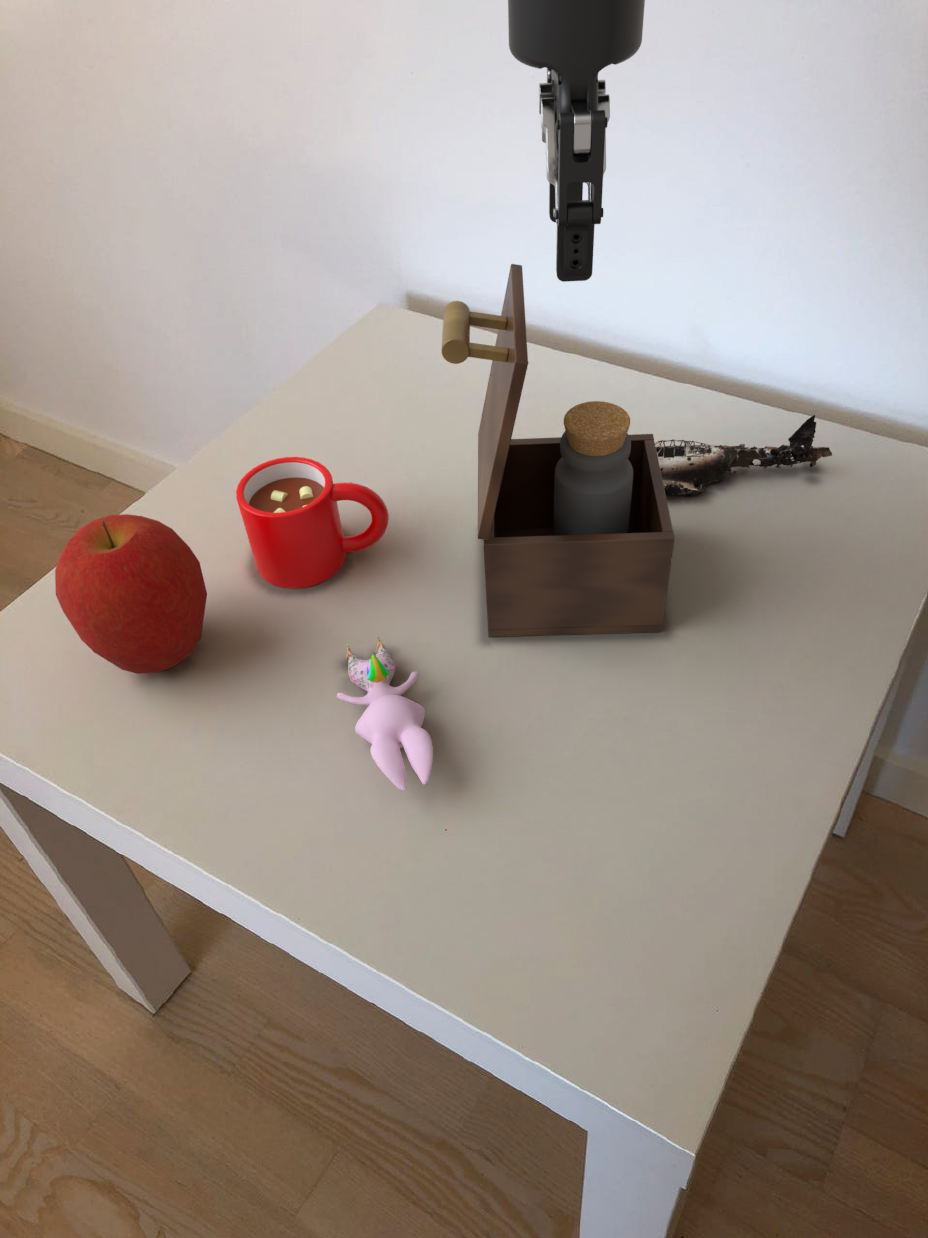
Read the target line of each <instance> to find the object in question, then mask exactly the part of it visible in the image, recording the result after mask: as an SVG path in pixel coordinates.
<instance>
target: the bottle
mask: <svg viewBox="0 0 928 1238" xmlns="http://www.w3.org/2000/svg"><path fill="white" fill-rule="evenodd" d="M563 425H564V431H563V433H562V435H561V436H560V437H561V441H560V452H561V455H562V458H561V459H560V460H559V461H558V463H557V465H556V468H555V485H554V536H558V535H589V534H620V533H628V529H629V519H630V508H631V496H632V485H633V468H632V465H631V463H630V461H629V460H628V457H629V455H630V450H631V439H630V437H629V435H630V434H629V429H630V427H631V417H630V415H629V413H628V412H627V411H626V410H625V409H624V408H622V407H621V406H620V405H618V404H614V403H612V402H608V401H601V400H599V401H598V400H594V401H593V400H592V401H585V402H581V403H579V404H576V405H574V406H573V407H570V408H569V409H568V411H566V413H565V414H564V416H563Z"/></svg>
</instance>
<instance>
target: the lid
mask: <svg viewBox="0 0 928 1238" xmlns="http://www.w3.org/2000/svg"><path fill="white" fill-rule="evenodd" d="M523 273H524V272H523V265H522V264H515V263H510V266H509V273H508V276H507V277H508V278H507V283H506V288H505V293H504V299H503V303H502V309H501V314H500V315H497V314H490V313H484V312H476V311H471V309H470V307H469V306H468V305H467V303H465V302H464V301H461V300H453V301H450V302H448V303H447V304H446V305H445V307H444V308H443V315H442V317H443V318H442V335H441V355H442V357H443V359H444V360H445V361H446V362H448V363H450V364H454V365H459V364H461V363H463V362H466V361H467V359H468V358H472V359H480V360H488V361H491V364H490V371H489V375H488V381H487V387H486V391H485V398H484V400H483V401H484V402H483V407H482V412H481V418H480V422H479V427H478V432H477V539H478V540H481V541H483V540H488V539H489V536H490V531H491V527H492V522H493V518H494V513H495V509H496V504H497V500H498V495H499V491H500V487H501V482H502V478H503V473H504V469H505V464H506V460H507V455H508V451H509V447H510V442H511V439H513V433H514V429H515V424H516V419H517V415H518V410H519V406H520V402H521V398H522V394H523V390H524V389H523V388H524V384H525V380H526V375H527V371H528V366H529V354H528V339H527V321H526V307H525V306H526V305H525V289H524V274H523ZM471 326H473V327H479V328H487V329H493V330H497V334H496V340H495V345H490V344H484V343H477V342H471Z"/></svg>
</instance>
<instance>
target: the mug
mask: <svg viewBox="0 0 928 1238" xmlns="http://www.w3.org/2000/svg"><path fill="white" fill-rule="evenodd" d="M235 498H236V502H237V506H238V508H239V512H240V515H241V519H242V522H243V525H244V529H245V532H246V536H247V540H248V543H249V547H250V549H251V552H252V556H253V560H254V563H255V567H256V570H257V572H258V574H259V575H260V577H261V578H262V579H263V580H265V581H266V582H268V583H269V584H271V585H273V586H276V587H278V588H279V587H280V588H284V589H304V588H309V587H312V586H315V585H316V586H317V585H318V584H321V583H323V582H325V581H327V580H328V579H330V578H331V577H333V576H334V575H335V574H336V573H338V571H340V569H341V568H342V566H343V565H344V563H345V560H346V558H347V553H354V552H355V553H356V552H360V551H363V550H366V549H368V548H370V547H372V546H374V545H375V544H377V543H378V542H379V541H380V540H381V539H382V537H383V536H384V535H385V533H386V531H387V528H388V525H389V519H390V518H389V517H390V516H389V515H390V514H389V510H388V507H387V505H386V503H385V502H384V500H383V498H382V497H381V496H380V495H379V494H378V493H377V492H375V491H374V490H372V489H371V488H369V487H368V486H365V485H362V484H359V483H354V482H336V483H335V482H334V480H333V476H332V474H331V472H330V471H329V469H328V468H327V467H326V466H325V465H324V464H322V463H320V462H319V461H317V460H314V459H312V458H309V457H308V458H306V457H303V456H302V457H301V456H284V457H278V458H274V459H271V460H267V461H265V462H262V463H260V464H258V465H256V466H254V467H253V468H252V469H250V470H249V471H248V472H246V473H245V474H244V476H242V478H241V479H240V480H239V482H238V484H237V486H236V489H235ZM339 501H351V502H356V503H359V504H360V505H362V506H363V507H365V508H366V509H367V510H368V511H369V513H370V516H371V521H370V524H369V525H368V526H367V528H365V530H362V531H361V532H359V533H356V534H352V535H344V532H343V531H344V530H343V526H342V520H341V515H340V512H339V506H338V502H339Z"/></svg>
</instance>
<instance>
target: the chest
mask: <svg viewBox="0 0 928 1238" xmlns="http://www.w3.org/2000/svg"><path fill="white" fill-rule="evenodd" d="M628 435H629V437H630V439H631V450H630V455H629V457H628V460H629V461H630V463H631V465H632V468H633V485H632V496H631V508H630V519H629V529H628V533H620V534H589V535H558V536H554V485H555V468H556V465H557V463H558V461H559V460H560V459H561V458H562V455H561V452H560V441H561V437H562V436H559V437H555V436H554V437H533V438H531V437H530V438H511V442H510V447H509V451H508V455H507V460H506V464H505V469H504V473H503V478H502V482H501V487H500V491H499V495H498V500H497V504H496V509H495V513H494V518H493V522H492V527H491V531H490V536H489V539H488V540H482V548H483V567H484V583H485V602H486V604H485V605H486V619H487V620H486V621H487V623H486V624H487V636H488V637H489V638H493V637H496V638H497V637H501V638H502V637H531V636H532V637H533V636H567V635H569V636H570V635H571V636H572V635H603V634H605V635H606V634H608V635H609V634H640V633H641V634H642V633H643V634H645V633H663V626H664V625H663V624H664V618H665V616H664V615H665V610H666V603H667V597H668V589H669V584H670V575H671V570H672V569H671V568H672V561H673V556H674V555H673V554H674V547H675V540H676V537H675V533H674V527H673V524H672V519H671V518H672V517H671V514H670V508H669V504H668V499H667V494H665V490H664V485H663V480H662V475H661V470H660V466H659V461H658V456H657V451H656V445H655V443H656V441H655V436H654V433H641V434H638V433H636V434H628Z"/></svg>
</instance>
